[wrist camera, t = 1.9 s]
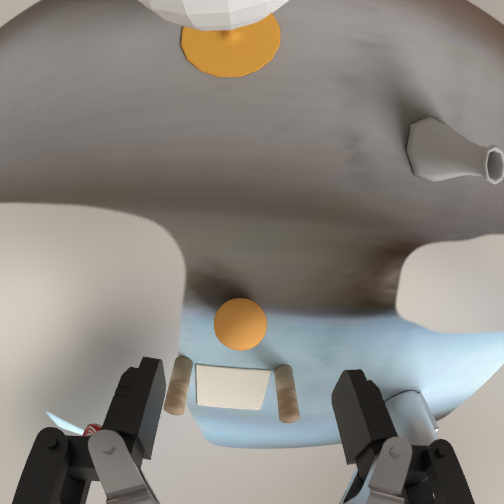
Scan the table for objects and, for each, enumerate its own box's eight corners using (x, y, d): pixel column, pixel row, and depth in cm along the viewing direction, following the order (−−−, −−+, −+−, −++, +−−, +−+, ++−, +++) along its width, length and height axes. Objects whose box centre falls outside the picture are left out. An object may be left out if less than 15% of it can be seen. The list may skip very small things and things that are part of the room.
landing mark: (270, 370, 35) (271, 371, 35) (260, 408, 39) (260, 409, 39) (196, 364, 34) (196, 365, 34) (197, 403, 38) (197, 404, 38)
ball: (268, 290, 30) (273, 322, 25) (261, 329, 32) (264, 362, 27) (217, 285, 29) (212, 317, 24) (215, 325, 32) (210, 358, 26)
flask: (454, 179, 25) (514, 204, 15) (407, 184, 25) (468, 212, 16) (450, 117, 22) (514, 124, 13) (401, 115, 22) (466, 117, 13)
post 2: (293, 365, 35) (302, 412, 27) (289, 376, 36) (297, 422, 28) (276, 364, 34) (281, 413, 27) (273, 375, 35) (277, 423, 28)
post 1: (192, 357, 34) (183, 406, 26) (192, 369, 35) (184, 416, 27) (174, 355, 34) (162, 402, 26) (175, 366, 35) (164, 413, 27)
